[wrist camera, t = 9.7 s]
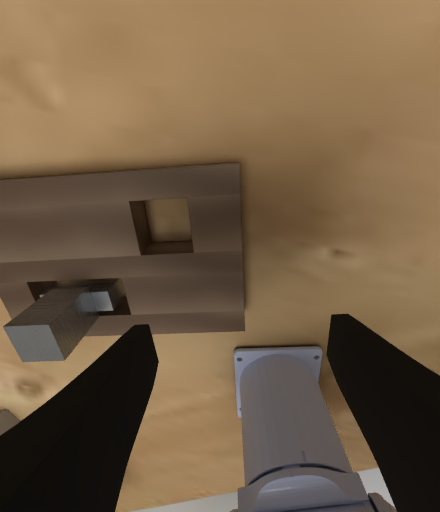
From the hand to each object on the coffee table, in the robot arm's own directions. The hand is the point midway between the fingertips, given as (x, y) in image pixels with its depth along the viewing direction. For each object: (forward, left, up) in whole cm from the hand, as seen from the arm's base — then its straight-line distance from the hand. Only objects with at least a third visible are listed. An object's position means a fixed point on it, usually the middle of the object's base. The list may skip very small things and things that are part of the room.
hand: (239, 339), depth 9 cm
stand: (0, +9, -9) cm, 13 cm away
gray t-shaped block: (-2, +11, -10) cm, 15 cm away
